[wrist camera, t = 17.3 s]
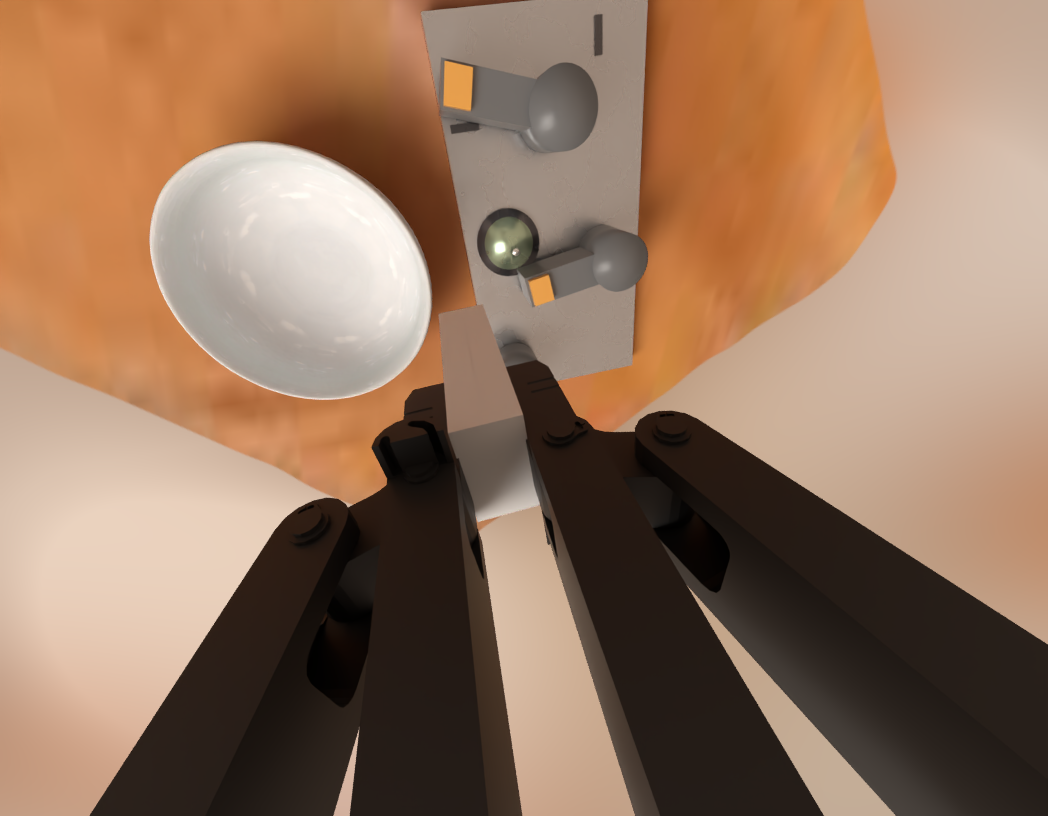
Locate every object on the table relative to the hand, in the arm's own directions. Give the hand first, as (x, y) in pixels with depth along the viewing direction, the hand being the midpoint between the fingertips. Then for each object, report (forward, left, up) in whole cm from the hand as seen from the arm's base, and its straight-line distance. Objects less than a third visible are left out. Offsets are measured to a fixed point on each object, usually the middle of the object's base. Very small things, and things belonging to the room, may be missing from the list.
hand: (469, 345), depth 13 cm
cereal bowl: (+1, -10, -23) cm, 25 cm away
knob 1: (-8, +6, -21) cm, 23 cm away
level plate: (+1, +9, -23) cm, 24 cm away
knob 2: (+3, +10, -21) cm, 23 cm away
